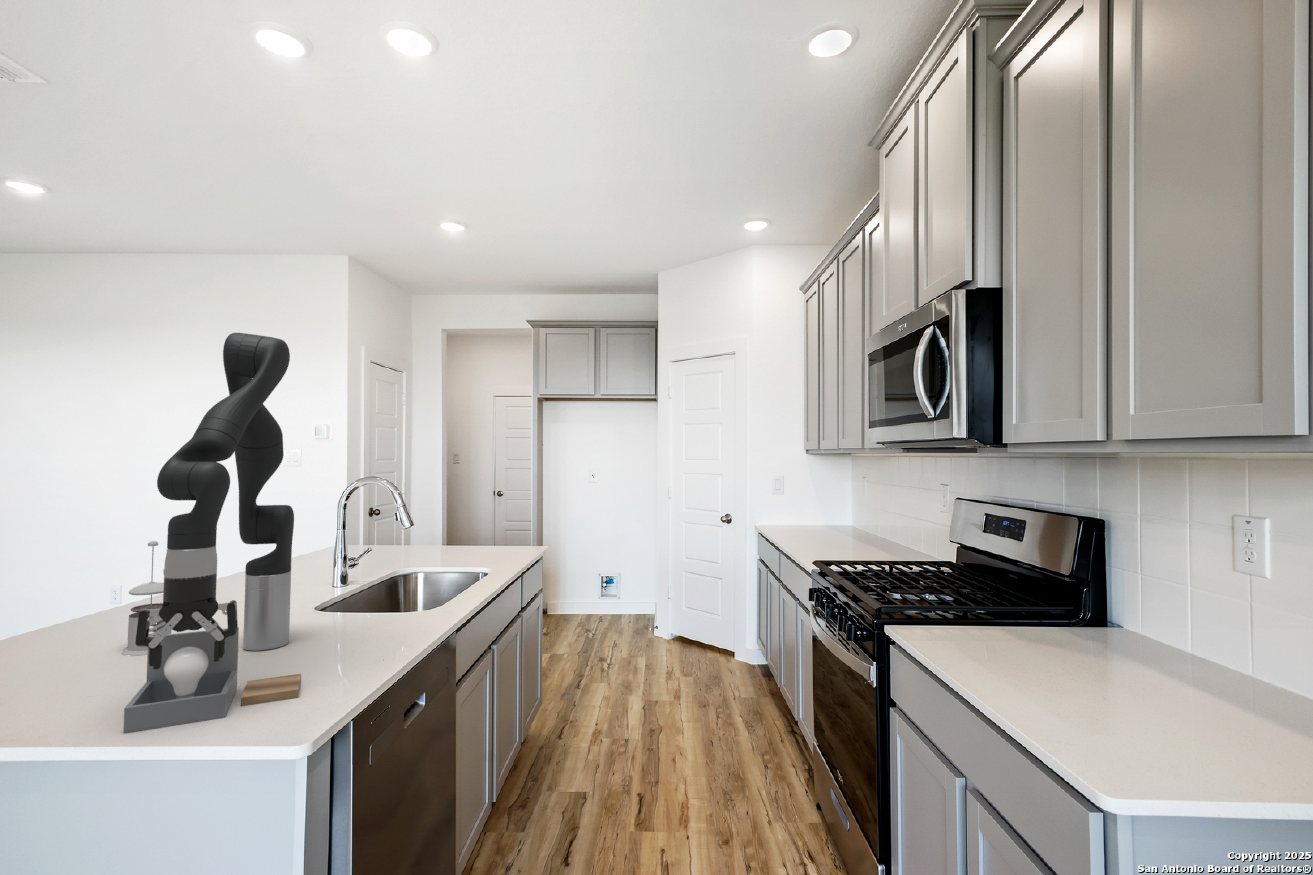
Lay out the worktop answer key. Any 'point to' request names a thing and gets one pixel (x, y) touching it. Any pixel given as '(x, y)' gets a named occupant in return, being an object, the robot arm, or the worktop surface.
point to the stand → (271, 689)
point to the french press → (133, 618)
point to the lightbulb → (186, 670)
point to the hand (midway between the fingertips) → (187, 664)
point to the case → (211, 696)
